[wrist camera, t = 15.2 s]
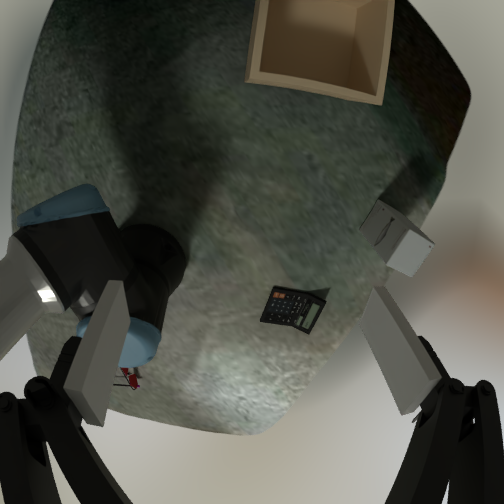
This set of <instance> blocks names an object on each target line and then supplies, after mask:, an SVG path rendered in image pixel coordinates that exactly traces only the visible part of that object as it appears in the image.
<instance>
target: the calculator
mask: <svg viewBox="0 0 504 504" xmlns="http://www.w3.org/2000/svg"><path fill="white" fill-rule="evenodd" d="M326 302H327V301H325V300H323V299H321V298H319V297H317V296H314V295H312V294H310V293H306V292H300V291H294V290H289V289H283V288H277V287H273V289H272V291H271V294H270V296H269V299H268V301H267V304H266V306H265V309H264V311H263V314H262V316H261V319H260V322H265V323H272V324H279V325H287V326H292V327H294V328H296V329H298V330H301V331H303V332H305V333H307V334H310V332H311V330H312V328H313V327H314V325H315V323H316V321H317V319H318V317H319V315H320V314H321V312H322V310H323V308H324V306H325V304H326Z"/></svg>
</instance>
